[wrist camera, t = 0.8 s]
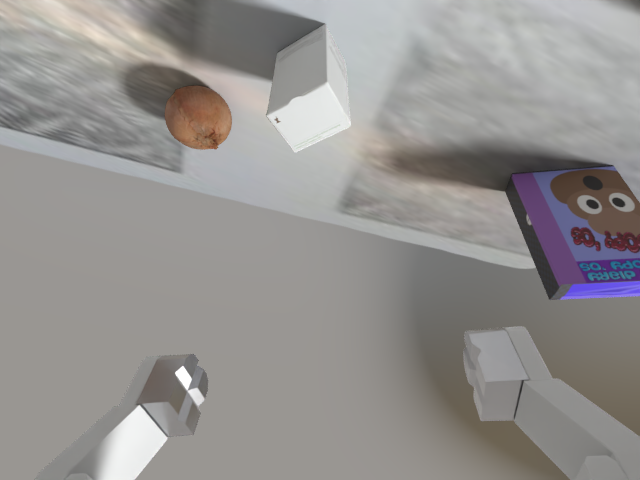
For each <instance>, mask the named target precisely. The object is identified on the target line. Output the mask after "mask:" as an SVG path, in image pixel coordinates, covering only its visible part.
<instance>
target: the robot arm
mask: <svg viewBox="0 0 640 480" xmlns="http://www.w3.org/2000/svg"><path fill="white" fill-rule="evenodd" d="M464 340H465V343H466V346H467V347H466V348H465V349H464V352H463V353H464V354H463V355H464V356H463V358H464V367H465V371H466V375H467V379H468V382H469V383H470V384H471V385H472V386H473V387H474V401H475V404H476V407H477V410H478V413H479V416H480V420H481V421H498V420H499V421H500V420H501V421H502V420H514V422H515V423H516V424H517V425H518V426H519V427H520V428H521V429H522V430H523V431H524V433H526V435H527V436H528V437H529V438H530V439H531V440H532V441H533V442H534V443H535V444H536V445H537V446H538V447H539V448H540V449H541V450H542V451H543V452H544V453H545V454H546V455H547V456H548V457H549V458H550V459H551V460H552V461H553V462H554V463H555V464H556V465H557V466H558V467H559V468H560V469H561V470H562V471H563V472H564V473H565V474H566V475H567V476H568V478H569V479H570V480H640V437H639V436H638V435H636V434H635V433H634V432H632V431H631V430H630V429H628V428H627V427H625V426H624V425H623V424H621V423H620V422H618V421H617V420H616V419H614V418H613V417H612V416H610V415H609V414H607V413H606V412H605V411H603V410H602V409H600V408H599V407H598V406H596V405H595V404H593V403H592V402H591V401H589V400H588V399H586V398H585V397H584V396H582V395H581V394H579V393H578V392H577V391H575V390H574V389H573V388H571V387H570V386H568V385H567V384H566V383H564V382H563V381H562V380H560V379H553V378H552V376H551V374H550V373H549V371H548V369H547V367H546V365H545V363H544V361H543V359H542V357H541V356H540V354H539V352H538V350H537V348H536V346H535V344H534V342H533V341H532V339H531V337H530V335H529V333H528V331H527V329H526V328H525V327H523V326H519V327H507V328H491V329H481V330H471V331H466V332H465V336H464ZM197 363H198V359H197V358H196V356H195V355H194V354H186V355H169V356H152V357H146V358H145V359H144V360H143V361H142V362H141V364H140V366H139V368H138V370H137V372H136V374H135V375H134V377H133V379H132V381H131V383H130V385H129V388H128V389H127V391H126V393H125V395H124V397H123V399H122V401H121V403H120V405H119V406H114V407H113V408H112V409H111V410H110V411H109V412H107V413H106V414H105V415H104V416H103V417H102V418H101V419H100V420H98V421H97V422H96V423H95V424H94V425H93V426H91V428H89V429H88V430H87V431H86V432H85V433H84V434H82V435H81V436H80V437H79V438H78V439H77V440H76V441H74V442H73V443H72V444H71V445H70V446H69V447H68V448H66V449H65V450H64V451H63V452H62V453H61V454H60V455H59V456H57V457H56V458H55V459H54V460H53V461H52V462H51V463H49V465H47V466H46V467H45V468H44V469H43V470H42V471H41V472H39V473H38V475H37V477H36V478H35V480H135V479H136V477H137V476H138V475H139V474H140V472H141V471H142V470H143V469H144V467H145V466H146V465H147V464H148V462H149V461H150V460H151V459H152V458H153V456H154V455H155V454H156V453H157V451H158V450H159V449H160V448H161V446H162V445H163V444H164V443H165V441H166V440H167V439H168V438H167V437H173V436H185V435H194V432H195V429H196V426H197V423H198V420H199V417H200V411H199V408H198V406H199V405H200V404H201V403H202V402H203V401H204V400H205V397H206V394H207V391H208V378H207V374H206V372H205V371H204V369H202V368H201V367H199V366H197Z"/></svg>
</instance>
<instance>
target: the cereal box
mask: <svg viewBox="0 0 640 480" xmlns="http://www.w3.org/2000/svg"><path fill="white" fill-rule="evenodd" d="M505 192H506V195H507V197H508V200H509V202H510V204H511V207H512V209H513V212H514V214H515V217H516V219H517V222H518V224H519V226H520V229H521V231H522V234H523V236H524V239H525V241H526V244H527V246H528V248H529V251H530V253H531V256H532V258H533V261H534V263H535V266H536V268H537V270H538V273H539V275H540V278H541V280H542V282H543V285H544V288H545V290H546V292H547V295H548V297H549V299H550V300H557V299H579V298H601V297H625V296H640V203H639V201H638V200H637V199H636V197H635V196H634V194H633V193H632V191H631V190H630V189H629V187H628V186H627V184H626V183H625V181H624V180H623V179H622V177H621V176H620V174H619V173H618V171H617V170H616V169H615V167H614V166H600V167H588V168H575V169H563V170H550V171H538V172H525V173H513V174H512V176H511V178H510V181H509V183H508V186H507V189H506V191H505Z"/></svg>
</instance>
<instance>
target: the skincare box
mask: <svg viewBox="0 0 640 480" xmlns="http://www.w3.org/2000/svg"><path fill="white" fill-rule="evenodd" d="M266 117H267V118H268V119H269V121H270V122H271V123H272V124H273V126H274V127H275V128H276V129H277V131H278V132H279V133H280V134H281V136H282V137H283V138H284V139H285V141H286V142H287V143H288V144H289V146H290V147H291V148H292V150H293V151H294V152H295V153H296V152H298V151H300V150H302V149H304V148H306V147H308V146H310V145H312V144H314V143H317V142H319V141H321V140H323V139H325V138H327V137H329V136H331V135H334V134H336V133H338V132H340V131H342V130H344V129H346V128H348V127H350V126H351V120H350V108H349V96H348V82H347V70H346V62H345V60H344V58H343V56H342V54H341V52H340V50H339V48H338V46H337V45H336V43H335V41H334V39H333V37H332V35H331V33H330V31H329V29H328V27H327V25H326V24H324V25H322V26H321V27H319V28H317V29H316V30H314V31H312V32H311V33H309V34H307V35H306V36H304V37H303V38H301V39H299V40H298V41H296V42H294V43H293V44H291V45H289V46H288V47H286V48H285V49H283V50H281V51H280V52H278V53H277V57H276V63H275V69H274V75H273V81H272V87H271V92H270V99H269V104H268V110H267V114H266Z"/></svg>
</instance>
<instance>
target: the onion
mask: <svg viewBox="0 0 640 480" xmlns="http://www.w3.org/2000/svg"><path fill="white" fill-rule="evenodd" d="M165 120H166V124H167V127H168V129H169V131H170V132H171V134H172V135H173V136H174V138H175V139H177V140H178V141H179V142H181V143H182V144H184V145H186V146H188V147H191V148H194V149H213V148H214V149H217V148H218V147H217V146H218V145H219V144H221V143H222V142H223V141H224V140H225V139H226V138H227V136H228V134H229V132H230V130H231V124H232V117H231V112H230V109H229V107H228V105H227V103H226V102H225V100H224V99H223V98H222V97H221V96H220V95H219V94H218V93H217V92H215V91H213V90H212V89H210V88H207V87H203V86H196V85H195V86H186V87H182V88H179V89H176V90H175V92H174V94H173V95H172V96H171V97H170V98H169V99H168V101H167V104H166V108H165Z"/></svg>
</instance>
